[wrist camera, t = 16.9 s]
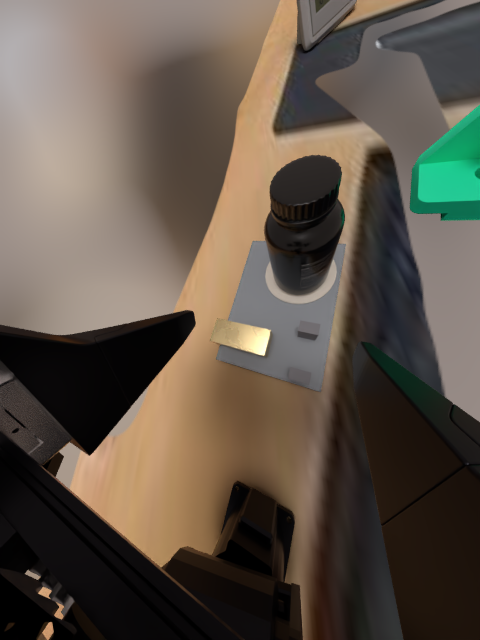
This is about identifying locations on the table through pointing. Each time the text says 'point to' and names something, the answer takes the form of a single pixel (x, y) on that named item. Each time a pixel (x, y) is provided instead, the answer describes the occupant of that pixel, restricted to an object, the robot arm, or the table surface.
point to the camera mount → (450, 174)
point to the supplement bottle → (304, 223)
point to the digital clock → (319, 19)
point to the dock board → (285, 321)
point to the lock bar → (242, 337)
